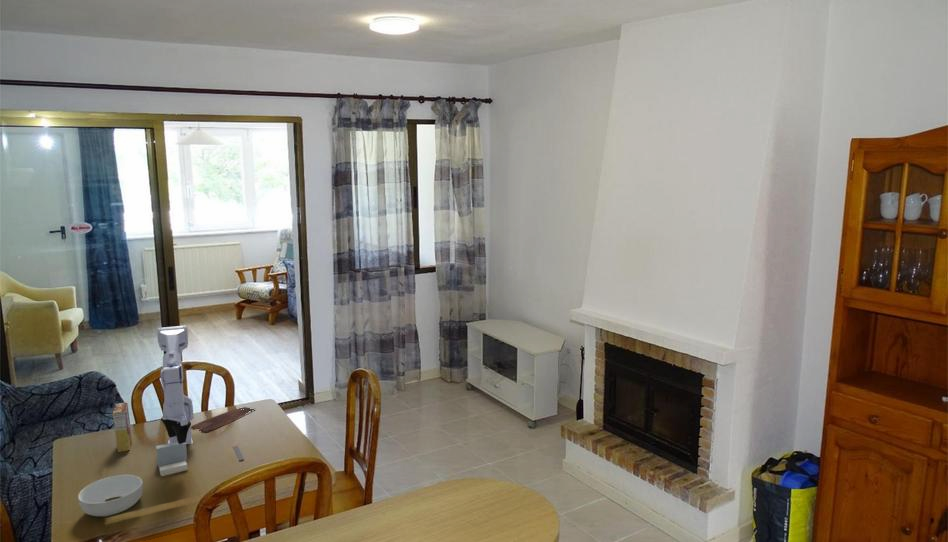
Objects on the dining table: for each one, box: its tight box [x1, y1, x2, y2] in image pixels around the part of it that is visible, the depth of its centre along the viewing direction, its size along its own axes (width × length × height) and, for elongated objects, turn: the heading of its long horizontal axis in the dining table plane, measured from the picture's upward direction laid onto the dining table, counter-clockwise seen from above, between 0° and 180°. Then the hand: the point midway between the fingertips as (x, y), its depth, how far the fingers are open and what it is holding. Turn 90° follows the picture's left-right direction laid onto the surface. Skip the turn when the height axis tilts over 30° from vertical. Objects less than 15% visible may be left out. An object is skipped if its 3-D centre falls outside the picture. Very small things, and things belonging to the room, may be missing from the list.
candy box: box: [112, 402, 133, 453], centre depth 233 cm, size 9×4×15 cm, turn 23°
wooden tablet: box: [190, 406, 255, 434], centre depth 259 cm, size 26×2×10 cm
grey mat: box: [232, 445, 245, 462], centre depth 226 cm, size 12×12×1 cm
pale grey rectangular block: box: [155, 442, 188, 468], centre depth 219 cm, size 2×9×8 cm, turn 119°
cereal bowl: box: [77, 474, 144, 517], centre depth 192 cm, size 17×17×7 cm
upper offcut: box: [158, 461, 189, 477], centre depth 213 cm, size 3×8×2 cm, turn 125°
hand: (177, 439), depth 217 cm, fingers open, 7 cm apart
